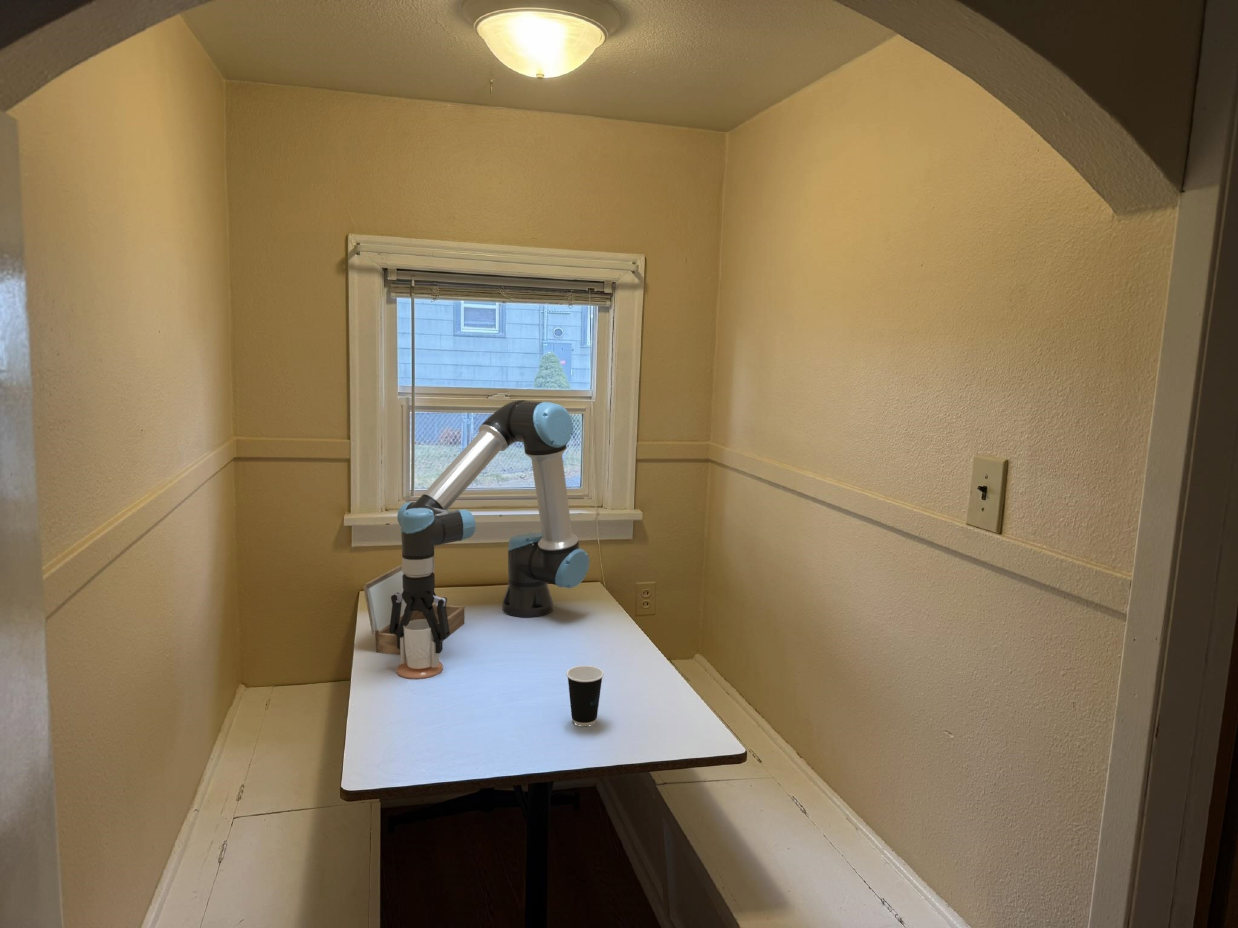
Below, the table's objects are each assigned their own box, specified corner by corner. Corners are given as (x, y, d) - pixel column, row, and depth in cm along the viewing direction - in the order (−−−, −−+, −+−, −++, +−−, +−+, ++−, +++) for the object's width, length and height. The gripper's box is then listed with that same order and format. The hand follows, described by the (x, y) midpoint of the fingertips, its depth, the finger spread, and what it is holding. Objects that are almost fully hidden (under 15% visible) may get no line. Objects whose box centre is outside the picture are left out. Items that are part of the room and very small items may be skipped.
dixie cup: (565, 713, 173) (565, 665, 172) (601, 712, 174) (602, 664, 172) (566, 730, 165) (566, 680, 164) (604, 729, 166) (605, 680, 165)
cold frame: (464, 623, 227) (464, 604, 226) (422, 657, 202) (421, 635, 201) (422, 619, 230) (422, 599, 229) (375, 652, 205) (375, 630, 204)
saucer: (450, 663, 198) (450, 661, 198) (430, 681, 188) (430, 678, 188) (410, 658, 201) (410, 656, 201) (388, 676, 190) (388, 673, 190)
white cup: (397, 664, 194) (396, 625, 192) (423, 654, 200) (422, 616, 198) (418, 672, 189) (417, 632, 188) (444, 662, 195) (443, 623, 194)
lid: (414, 558, 228) (411, 559, 228) (366, 584, 202) (363, 585, 203) (422, 602, 229) (419, 602, 229) (375, 633, 204) (372, 633, 204)
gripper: (464, 572, 192) (465, 661, 196) (387, 565, 197) (389, 653, 200) (451, 581, 185) (452, 673, 188) (371, 573, 189) (374, 664, 193)
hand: (420, 663), depth 194 cm, fingers closed on white cup, 8 cm apart
